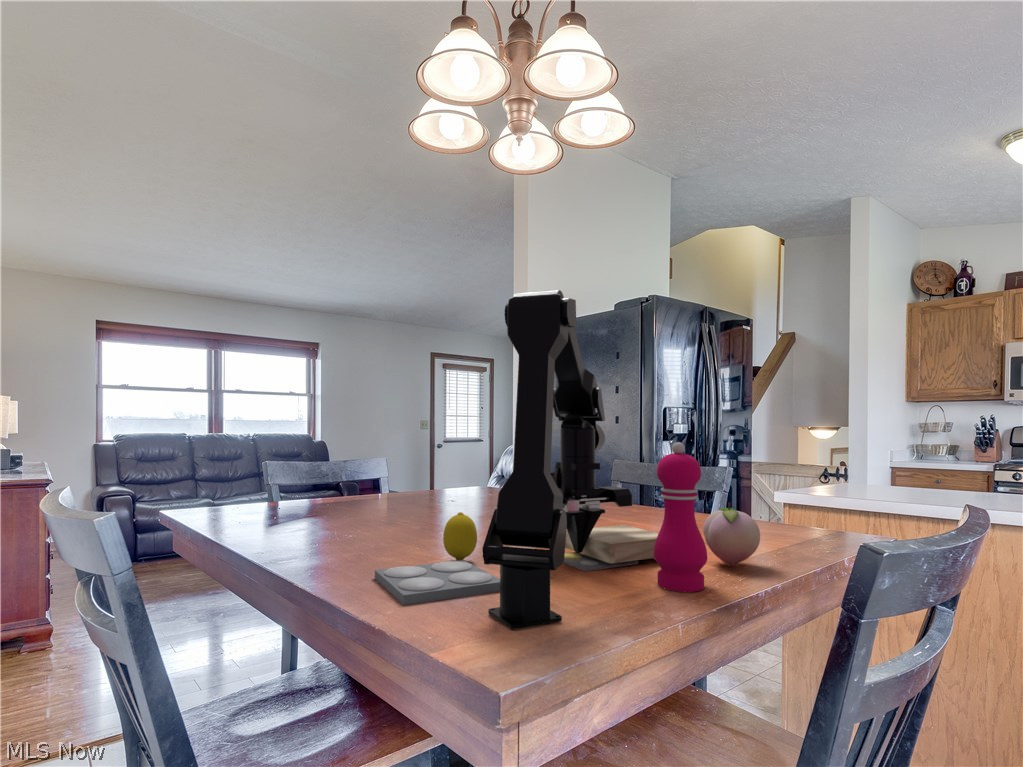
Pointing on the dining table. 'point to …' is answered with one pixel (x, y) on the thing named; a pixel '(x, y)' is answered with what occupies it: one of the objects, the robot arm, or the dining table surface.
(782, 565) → the dining table surface
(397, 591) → the board
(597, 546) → the cover
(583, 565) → the grey dotted plate
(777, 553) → the dining table surface
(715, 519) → the decorative fruit
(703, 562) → the pepper mill
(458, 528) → the lemon
